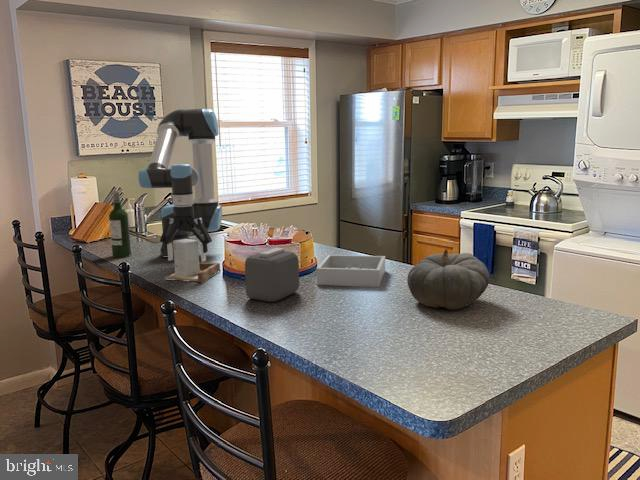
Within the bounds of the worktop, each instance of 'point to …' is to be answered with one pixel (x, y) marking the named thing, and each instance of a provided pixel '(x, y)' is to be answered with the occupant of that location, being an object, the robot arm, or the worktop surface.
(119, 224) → the wine bottle
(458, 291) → the gourd
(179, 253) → the small box
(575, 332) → the worktop surface
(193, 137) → the robot arm
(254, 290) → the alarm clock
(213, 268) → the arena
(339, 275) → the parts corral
